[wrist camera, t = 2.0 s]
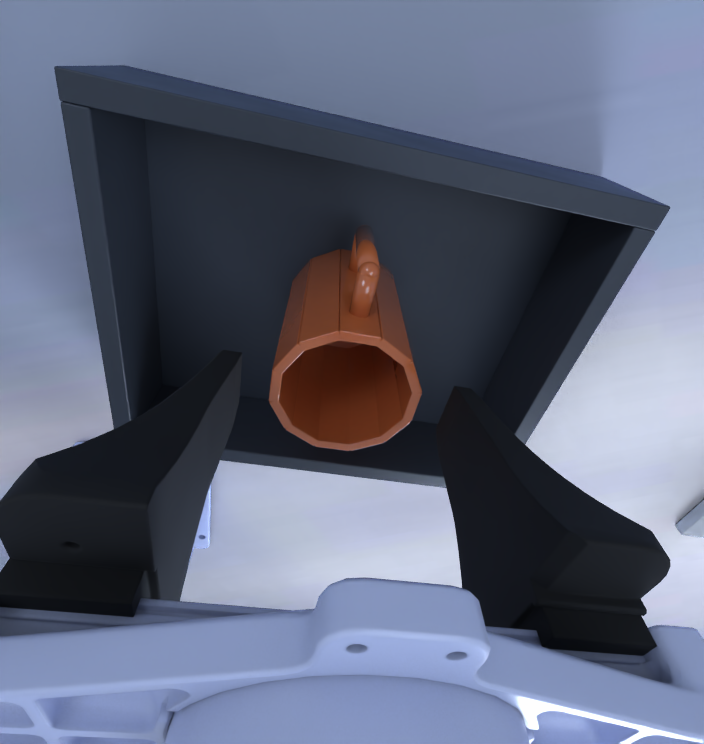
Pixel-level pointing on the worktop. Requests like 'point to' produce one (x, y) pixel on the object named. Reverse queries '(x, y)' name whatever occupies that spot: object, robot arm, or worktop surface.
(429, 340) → the bin
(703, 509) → the test tube rack
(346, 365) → the cup
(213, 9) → the worktop surface
